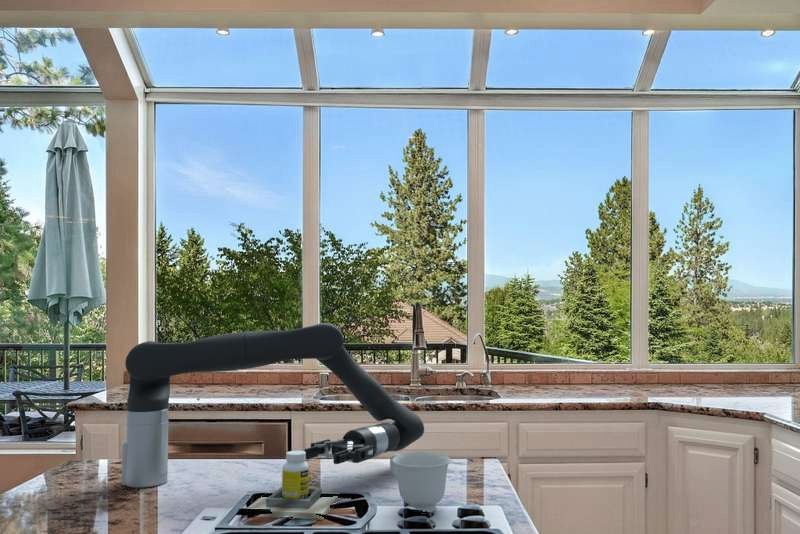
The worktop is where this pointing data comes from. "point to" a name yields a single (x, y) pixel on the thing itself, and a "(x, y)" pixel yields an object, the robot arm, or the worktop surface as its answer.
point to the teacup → (421, 478)
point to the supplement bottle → (295, 476)
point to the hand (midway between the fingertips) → (319, 456)
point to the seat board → (296, 505)
